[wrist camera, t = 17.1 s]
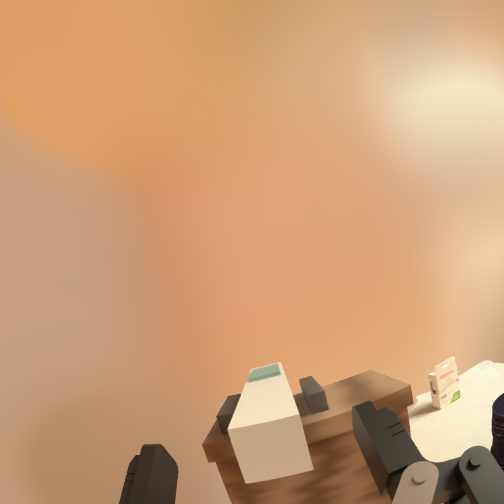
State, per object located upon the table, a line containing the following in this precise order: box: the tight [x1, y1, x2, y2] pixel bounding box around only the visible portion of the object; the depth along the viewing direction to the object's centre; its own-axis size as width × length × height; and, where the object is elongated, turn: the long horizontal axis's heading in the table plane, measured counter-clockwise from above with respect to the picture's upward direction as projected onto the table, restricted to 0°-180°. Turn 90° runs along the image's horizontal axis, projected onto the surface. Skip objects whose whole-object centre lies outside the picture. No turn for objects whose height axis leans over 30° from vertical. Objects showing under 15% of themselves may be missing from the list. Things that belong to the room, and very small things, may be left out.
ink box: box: [428, 356, 460, 409], centre depth 62 cm, size 9×5×15 cm, turn 87°
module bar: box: [227, 362, 314, 484], centre depth 24 cm, size 4×23×4 cm, turn 177°
